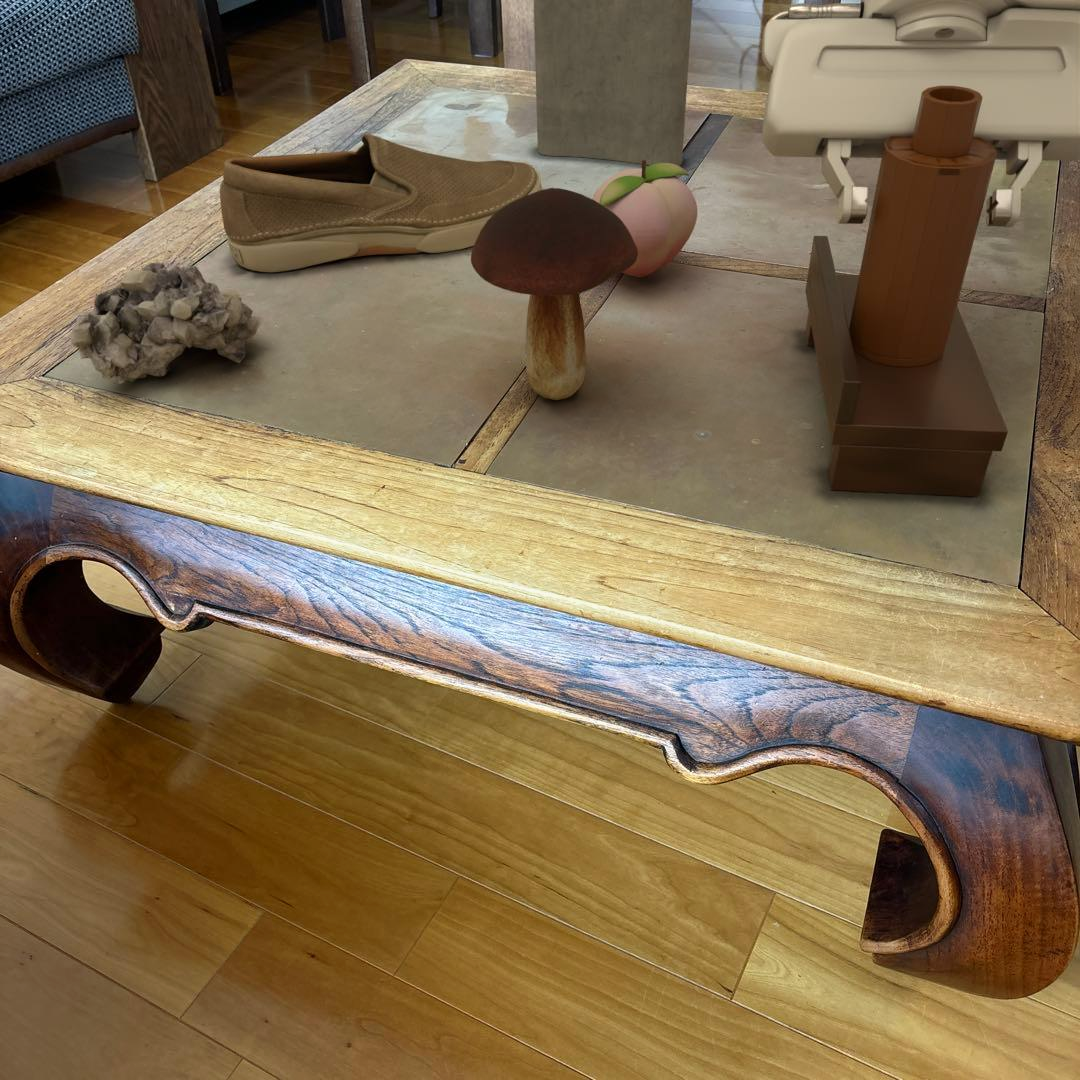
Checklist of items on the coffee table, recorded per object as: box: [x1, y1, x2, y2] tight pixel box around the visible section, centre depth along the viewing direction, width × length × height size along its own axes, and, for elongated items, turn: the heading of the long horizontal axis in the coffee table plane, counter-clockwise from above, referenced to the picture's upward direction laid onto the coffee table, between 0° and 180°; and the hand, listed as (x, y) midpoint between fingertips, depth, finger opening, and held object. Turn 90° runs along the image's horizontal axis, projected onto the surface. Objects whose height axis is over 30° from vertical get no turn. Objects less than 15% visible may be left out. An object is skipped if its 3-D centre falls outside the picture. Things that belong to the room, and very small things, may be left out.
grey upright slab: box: [533, 0, 693, 167], centre depth 103 cm, size 16×4×20 cm, turn 70°
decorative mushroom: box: [470, 187, 638, 401], centre depth 69 cm, size 11×11×15 cm
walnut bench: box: [804, 235, 1009, 498], centre depth 69 cm, size 10×20×8 cm, turn 174°
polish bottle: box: [849, 86, 997, 367], centre depth 63 cm, size 6×6×16 cm
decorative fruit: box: [591, 160, 698, 278], centre depth 85 cm, size 9×8×10 cm
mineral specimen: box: [69, 261, 263, 384], centre depth 76 cm, size 12×9×10 cm
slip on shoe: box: [219, 133, 543, 273], centre depth 93 cm, size 30×11×9 cm, turn 106°
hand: (926, 222), depth 62 cm, fingers open, 7 cm apart
